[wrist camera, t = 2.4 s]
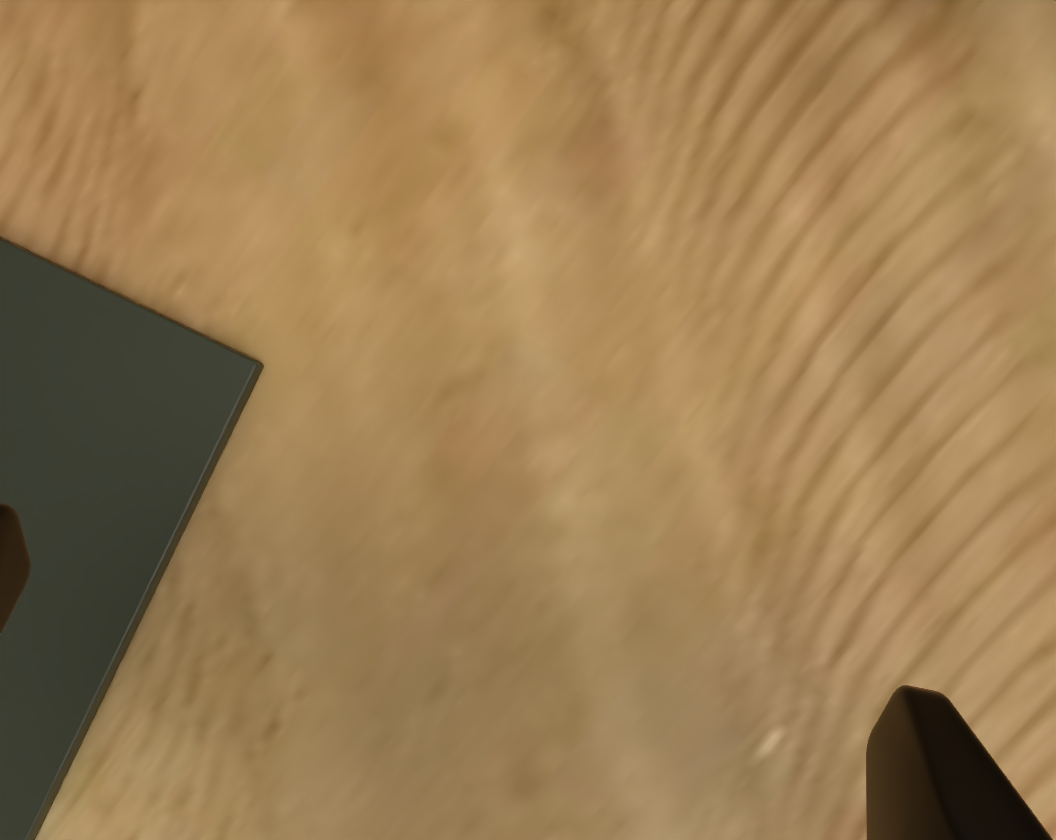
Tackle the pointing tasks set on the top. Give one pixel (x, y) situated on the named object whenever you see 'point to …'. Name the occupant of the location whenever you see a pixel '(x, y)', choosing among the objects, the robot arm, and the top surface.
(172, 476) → the slate
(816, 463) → the top surface
